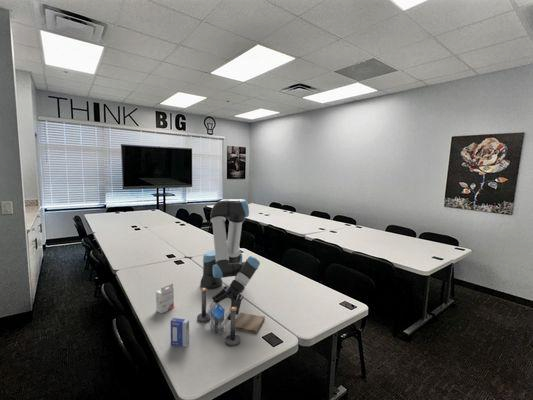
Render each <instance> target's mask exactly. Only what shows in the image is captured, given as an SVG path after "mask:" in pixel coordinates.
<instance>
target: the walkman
mask: <svg viewBox="0 0 533 400" xmlns="http://www.w3.org/2000/svg"><path fill="white" fill-rule="evenodd" d="M189 344H190V319H187V318H177V317H173V318H172V319H171V320H170V345H171V346H177V347H185V348H187V347H188V346H189Z"/></svg>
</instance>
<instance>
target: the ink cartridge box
mask: <svg viewBox="0 0 533 400" xmlns="http://www.w3.org/2000/svg"><path fill="white" fill-rule="evenodd" d="M174 298H175V296H174V283H171V284H167V285H165V286H163V287H161V288H160V289H158V290H156V291H155V307H156V308H155V309H156V310H155V311H156V312H158V313H159V314H163V313H165V312H168V311H169V310H172V309H173V308H174V307H175V304H174V303H175V302H174V301H175V300H174Z"/></svg>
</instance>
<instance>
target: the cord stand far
mask: <svg viewBox="0 0 533 400" xmlns="http://www.w3.org/2000/svg"><path fill="white" fill-rule="evenodd" d="M200 291H201V313H199V314H198V315H197V316H196V320H197V322H199V323H207V322H210V321H211V315H208V314H207V313H206V312H207V291H208V289H207V288H202V287H201V289H200Z"/></svg>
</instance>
